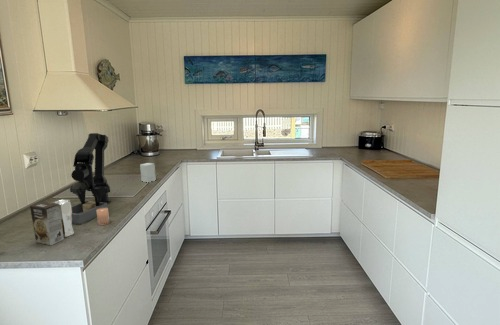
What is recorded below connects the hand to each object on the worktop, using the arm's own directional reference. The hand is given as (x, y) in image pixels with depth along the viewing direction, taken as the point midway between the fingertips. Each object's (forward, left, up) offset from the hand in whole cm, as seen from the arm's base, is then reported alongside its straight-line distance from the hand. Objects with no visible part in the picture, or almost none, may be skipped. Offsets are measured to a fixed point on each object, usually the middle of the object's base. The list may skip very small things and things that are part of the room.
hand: (90, 205), depth 163 cm
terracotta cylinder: (+9, +16, -4) cm, 19 cm away
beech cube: (0, 0, -4) cm, 4 cm away
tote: (+5, 0, -4) cm, 6 cm away
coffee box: (+31, +9, -5) cm, 32 cm away
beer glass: (+24, +10, -5) cm, 26 cm away
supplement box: (-63, -11, -5) cm, 65 cm away
